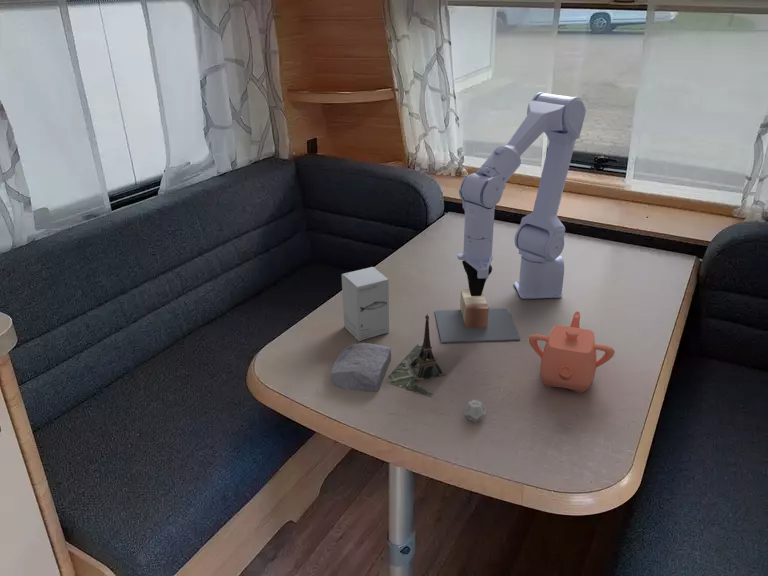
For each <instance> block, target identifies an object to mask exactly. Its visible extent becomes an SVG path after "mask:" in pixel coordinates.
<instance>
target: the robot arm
mask: <svg viewBox="0 0 768 576" xmlns="http://www.w3.org/2000/svg"><path fill="white" fill-rule="evenodd" d="M586 113H587V109H586V106H585V104H584V101H583V100H582V98H581V97H578V96H567V95H559V94H553V93H547V92H544V91H540V92H538V93H536V94H534V96H533V98H532V99H531V101H529V103H528V104H527V109H526V116H525V118H524V120H523V121H522V122H521V123H520V125H519V127H518V128H517V130H516V131H515V133H514V134H513V135H512V136H511V138H510V140H509V141H508V143H507V144H506V145H499V146H497V147H496V148H495V149H494V150H493V151H492V153H491V154H490V155H489V157H488V158H487V159H486V160H485V161H484V163H483V164H481V166H480V167H479V168H478V169H477V171H476V172H473V173H470V174H468V175H467V176H465V177H464V178H463V179H462V182H461V184H460V188H459V189H458V195H459V198H460V199H461V200H462V209H463V210H464V228H463V229H464V230H463V252H459V253H457V255H456V256H457V259H458V260H459V261H461V263H462V265H463V269H464V271H465V273H466V277H467V283H468V289H469V290H470V294H471V296H481V294H482V292H483V291H484V288H485V284H486V282H487V279H489V276H490V274H492V271H493V266H492V265H491V263H492V261H493V258H494V257H493V244H494V242H493V241H494V240H493V239H494V226H495V225H494V222H495V211H496V210H495V209H496V208H495V206H497V204H499V203H500V201H501V199H502V196H503V192H504V190H505V189H506V184H507V182H508V180H510V178H511V177H512V176H513V175H514V173H516V171H517V169H519V168H520V166H521V163H522V161H521V156H522V155H523V154H524V153H525V152H526V151H527V150H528V149H529V148H530V147H531V145H532V144H533V143H534V142H535V141H537V139H538V138H539V137H540V136H541V135H542V134H545V136H546V137H547V139H548V141H549V142H548V146H547V150H546V154H545V160H544V164H543V167H542V172H541V176H540V180H539V184H538V188H537V193H536V197H535V202H534V205H533V210H532V212H531V213H529V214H527V215H525V216H523V217H522V218H521V221H520V224H519V227H518V228H517V230H516V232H515V235H514V238H513V239H514V245H515V247H516V249H517V250H518V254H519V255H520V268H519V280H518V281H514V283H513V285H514V287H515V288H516V291H517V293H518V295H519V298H520V299H522V300H529V299H532V300H533V299H556V298H557V299H558V298H559V299H560V298H563V294H562V293H563V283H564V276H565V262H564V261H565V260H564V258H563V256H562V255H561V254H562V253H563V250H564V248H565V233H566V227H565V225H564V224H563V223H562V221H561V220H560V218H559V217H558V212H559V209H560V204H561V200H562V196H563V193H564V192H563V191H564V188H565V184H566V182H567V176H568V171H569V168H570V165H571V161H572V157H573V153H574V149H575V144H576V140H577V139H579V138H580V136H581V131H582V128H583V125H584V124H583V123H584V121H585V116H586Z"/></svg>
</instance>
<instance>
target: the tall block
mask: <svg viewBox="0 0 768 576" xmlns="http://www.w3.org/2000/svg"><path fill="white" fill-rule="evenodd" d="M459 301H460V303H459V304H460V305H459V307H460V309H459V310H461V312H462V316H463V319H464V323H465V326H466V328H482V327H488V311H489V309H490V308H489V306H488V302H487V300H486V298H485V294H484V292H483V291H482V294H481V296H471V294H470V290H469V288H466V289H465V288H461V289H460V300H459Z"/></svg>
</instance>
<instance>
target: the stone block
mask: <svg viewBox="0 0 768 576" xmlns="http://www.w3.org/2000/svg"><path fill="white" fill-rule="evenodd" d="M391 361H392V348H391V347H389V346H385V345H380V344H375V343H368V342H361V343H353V344H351V345H348V346H346V347H344V348H343V349H342V351H341V352H340V354H339V355H338V357H336V360H335V363H334V364H333V365H332V369H331V373H330V375H331V377H330V378H331V381H332V382H333V385H334V386H335V388H337V389H342V390H345V391H362V392H374V393H375V392H376V393H377V392H378V391H379V390H380V389H381V385H382V383H383V381H384V378H385V376H386V373H387V370H388V367H389V366H390V363H391Z"/></svg>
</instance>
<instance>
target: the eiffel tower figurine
mask: <svg viewBox="0 0 768 576" xmlns="http://www.w3.org/2000/svg"><path fill="white" fill-rule="evenodd" d="M424 318H425V325H424V336H423V344H418V343H417V344H416V345H415V346H414V347H413V348H412V350H411V351H410V352H409V353H408V354H407V355H406V356H405V358H404V359H402V361H401V362H400V363H399V364H398V365H397V366H396V367H395V368H394V369H393V371H392V372H391V373H390V374H389V375H388V379H389V381H390V384H392V385H394V386H397V387H400V388H404V389H405V390H406V391H409V392H412V393H416V394H421V395H424V396H428V397H433V396H434V393H433V392H429V391H428V390H426V389H425V388H424V387H423V386H420V385H418V382H419V381H420V382H421V381H425V380H430V379H434V378H440V377H443V376H446V374H445V372H444V370H443V369H442V368H441V367H440V365H439V363H438V362H437V359H436V357H435V356H434V353H433V351H432V349H433V348H432V347H433V346H431V339H430V338H431V337H430V324H429V323H430V321H429V320H430V316H429V315H428V314H426V315H425V317H424Z"/></svg>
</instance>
